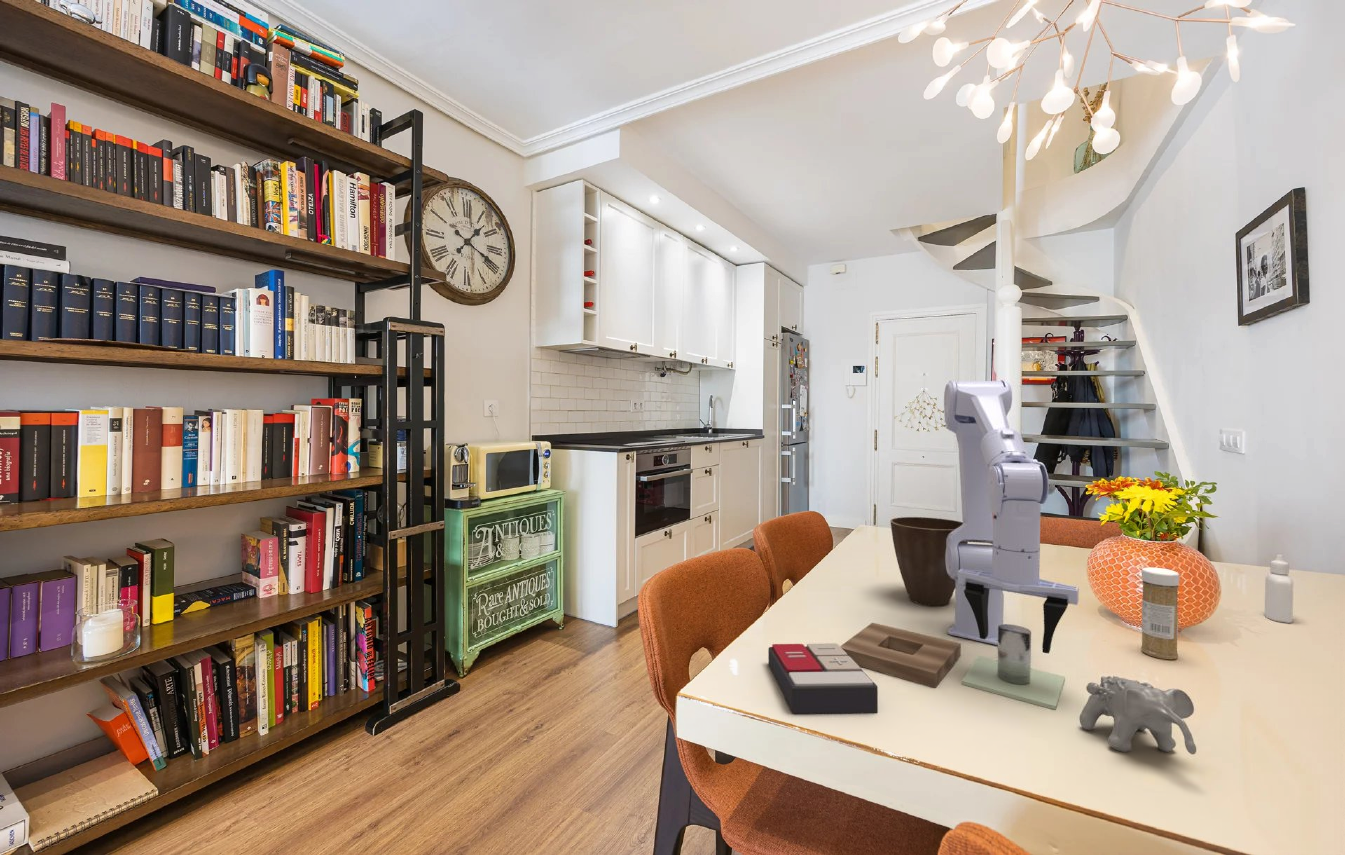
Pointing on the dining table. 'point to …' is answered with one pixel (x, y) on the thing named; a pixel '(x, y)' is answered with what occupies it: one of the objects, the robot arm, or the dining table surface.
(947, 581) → the plant pot
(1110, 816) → the dining table surface
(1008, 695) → the sage pad
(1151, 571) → the spice jar
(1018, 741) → the dining table surface
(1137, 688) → the elephant statuette
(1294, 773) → the dining table surface
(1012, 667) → the metal peg
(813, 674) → the calculator
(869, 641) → the walnut holder
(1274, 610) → the eye dropper bottle
